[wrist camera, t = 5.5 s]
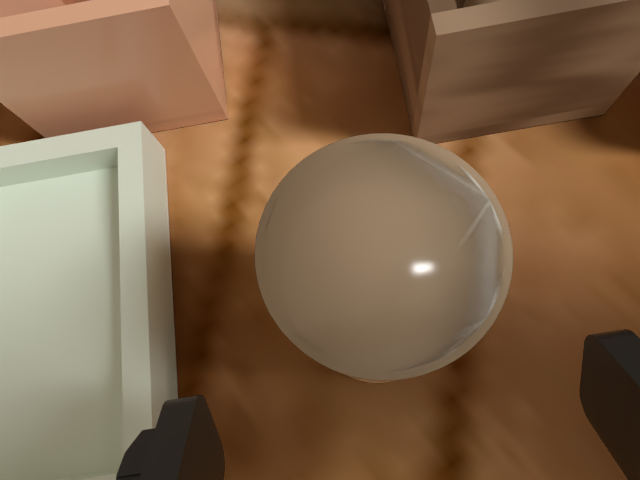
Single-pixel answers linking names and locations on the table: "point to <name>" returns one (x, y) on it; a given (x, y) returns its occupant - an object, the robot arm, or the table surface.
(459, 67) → the brown open square box
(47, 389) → the sage tray
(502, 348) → the table surface
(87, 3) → the pink square bin
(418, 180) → the cream canister
